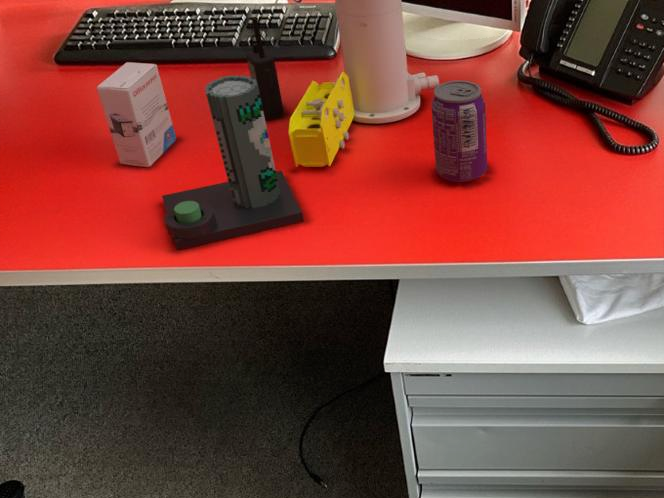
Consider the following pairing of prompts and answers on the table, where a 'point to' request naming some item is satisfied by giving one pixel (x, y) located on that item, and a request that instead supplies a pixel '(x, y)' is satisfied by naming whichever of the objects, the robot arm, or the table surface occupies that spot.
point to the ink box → (137, 113)
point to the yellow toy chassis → (321, 122)
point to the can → (243, 140)
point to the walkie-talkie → (265, 77)
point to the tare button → (187, 212)
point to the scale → (228, 214)
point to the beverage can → (459, 131)
